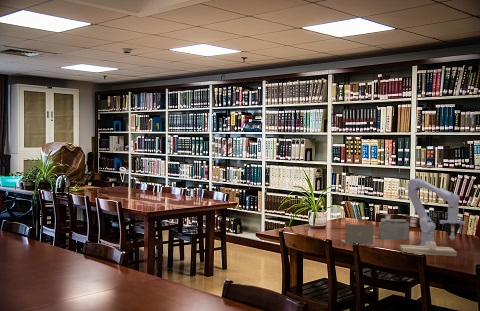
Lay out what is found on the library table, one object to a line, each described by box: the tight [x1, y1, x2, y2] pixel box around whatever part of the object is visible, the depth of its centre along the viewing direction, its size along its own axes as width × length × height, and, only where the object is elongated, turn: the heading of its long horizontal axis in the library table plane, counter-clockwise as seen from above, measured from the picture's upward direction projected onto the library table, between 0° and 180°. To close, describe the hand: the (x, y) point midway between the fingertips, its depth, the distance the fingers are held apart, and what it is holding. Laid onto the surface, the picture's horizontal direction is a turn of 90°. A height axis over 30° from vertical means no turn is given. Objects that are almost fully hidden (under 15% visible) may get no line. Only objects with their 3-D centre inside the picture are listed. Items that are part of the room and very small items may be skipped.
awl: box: [448, 225, 456, 241], centre depth 314 cm, size 3×3×8 cm
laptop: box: [340, 224, 374, 245], centre depth 334 cm, size 18×12×13 cm
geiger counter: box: [373, 218, 410, 241], centre depth 347 cm, size 14×6×25 cm
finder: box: [426, 240, 437, 248], centre depth 310 cm, size 5×5×3 cm
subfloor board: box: [399, 244, 458, 257], centre depth 307 cm, size 13×30×3 cm, turn 82°
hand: (452, 235), depth 314 cm, fingers closed on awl, 3 cm apart
